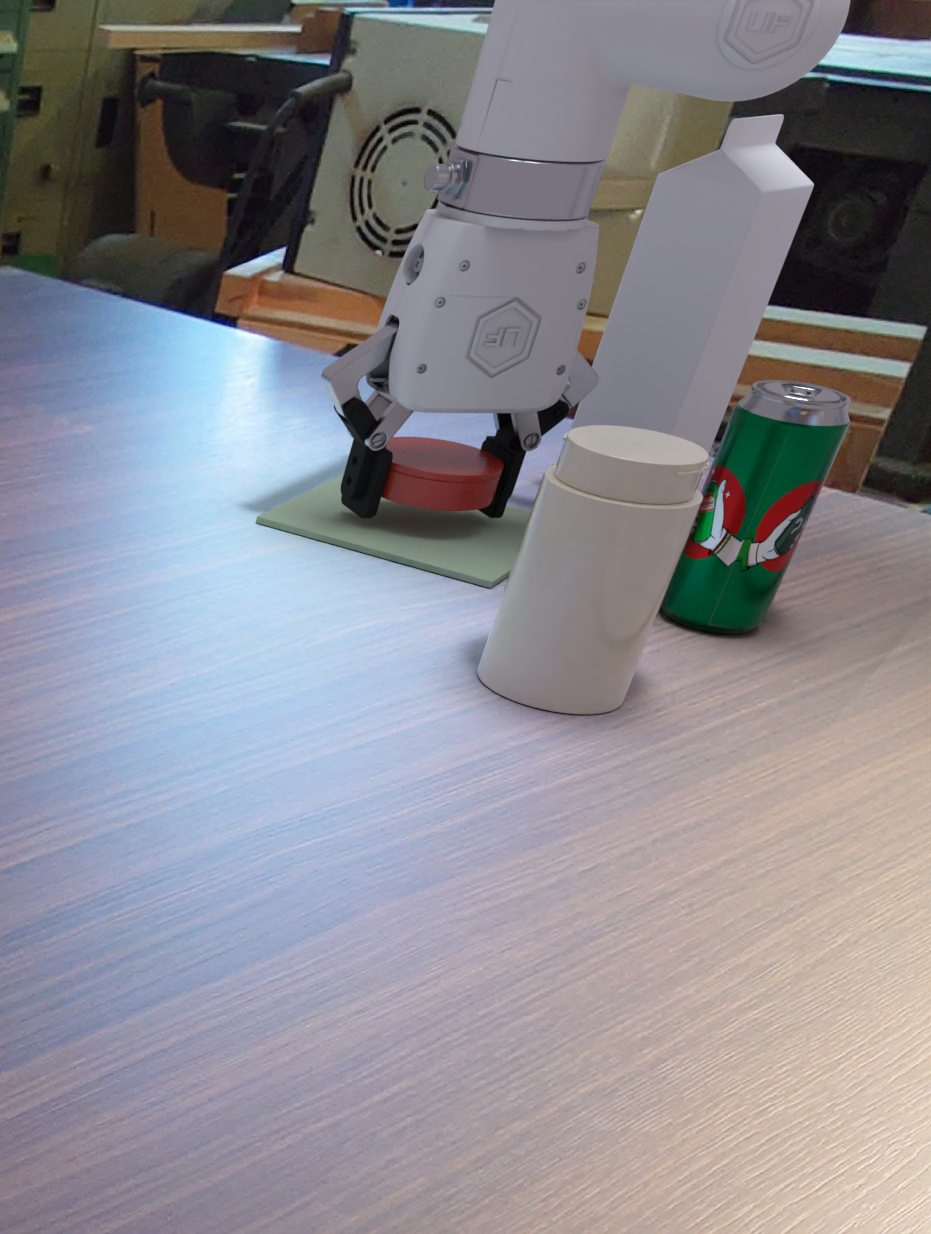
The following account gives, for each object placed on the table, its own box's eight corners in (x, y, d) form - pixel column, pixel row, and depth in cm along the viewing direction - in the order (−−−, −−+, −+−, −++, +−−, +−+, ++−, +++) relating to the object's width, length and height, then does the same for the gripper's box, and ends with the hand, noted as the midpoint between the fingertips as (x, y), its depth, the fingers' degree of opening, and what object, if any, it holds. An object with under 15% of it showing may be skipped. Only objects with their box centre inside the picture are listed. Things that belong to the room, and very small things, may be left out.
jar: (626, 676, 83) (720, 438, 77) (619, 726, 79) (719, 477, 72) (484, 647, 86) (563, 414, 79) (469, 694, 81) (552, 449, 74)
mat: (577, 530, 101) (580, 524, 101) (490, 588, 93) (492, 581, 93) (354, 473, 109) (356, 467, 109) (255, 522, 101) (256, 516, 100)
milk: (545, 499, 106) (674, 112, 94) (597, 484, 109) (729, 106, 97) (638, 528, 102) (786, 126, 90) (690, 511, 105) (840, 120, 93)
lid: (388, 509, 97) (399, 473, 95) (341, 469, 103) (350, 434, 102) (514, 513, 97) (526, 477, 96) (459, 472, 103) (470, 438, 102)
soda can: (761, 614, 91) (859, 389, 84) (758, 645, 87) (861, 412, 81) (658, 594, 93) (745, 371, 86) (651, 623, 89) (742, 394, 83)
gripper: (399, 199, 86) (309, 533, 96) (710, 206, 89) (591, 532, 98) (334, 174, 93) (255, 490, 103) (625, 180, 95) (521, 490, 105)
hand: (420, 508), depth 100 cm, fingers closed on lid, 7 cm apart
